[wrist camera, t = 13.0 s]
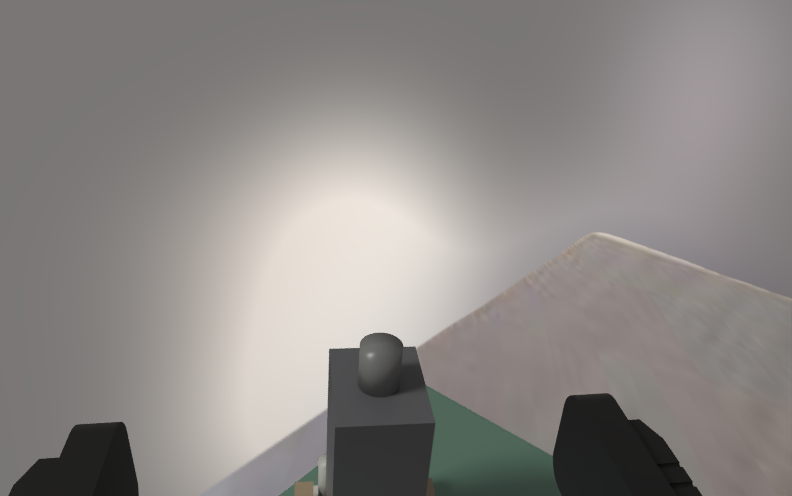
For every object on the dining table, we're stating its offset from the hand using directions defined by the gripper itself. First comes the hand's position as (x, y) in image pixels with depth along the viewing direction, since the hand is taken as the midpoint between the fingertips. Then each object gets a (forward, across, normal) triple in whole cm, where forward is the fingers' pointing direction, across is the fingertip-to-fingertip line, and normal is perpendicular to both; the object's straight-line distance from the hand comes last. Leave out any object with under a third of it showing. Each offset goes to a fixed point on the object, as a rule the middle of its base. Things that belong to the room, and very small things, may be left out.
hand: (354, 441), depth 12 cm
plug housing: (+12, -2, +20) cm, 24 cm away
